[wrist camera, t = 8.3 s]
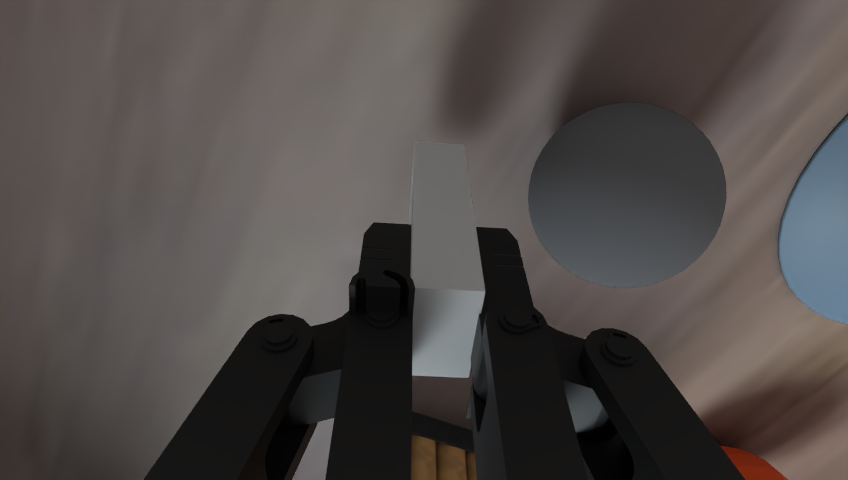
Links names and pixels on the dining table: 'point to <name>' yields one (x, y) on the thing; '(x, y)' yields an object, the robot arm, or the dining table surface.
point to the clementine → (752, 465)
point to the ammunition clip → (441, 450)
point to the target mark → (819, 230)
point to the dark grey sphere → (627, 195)
